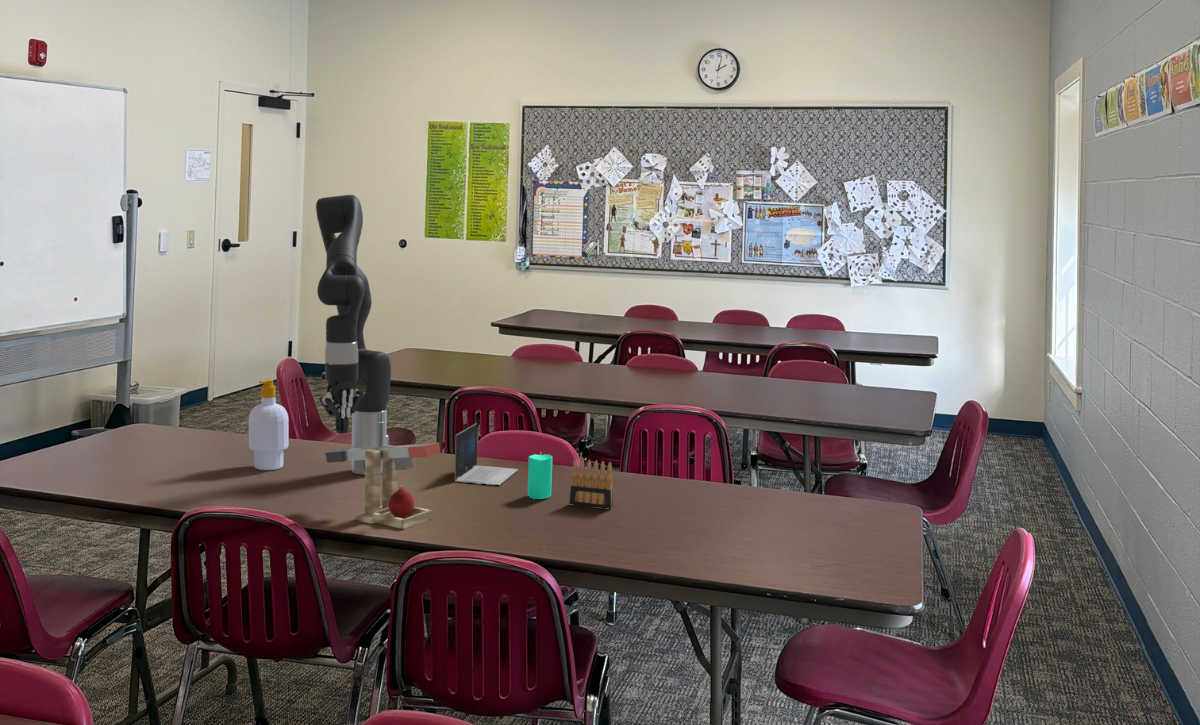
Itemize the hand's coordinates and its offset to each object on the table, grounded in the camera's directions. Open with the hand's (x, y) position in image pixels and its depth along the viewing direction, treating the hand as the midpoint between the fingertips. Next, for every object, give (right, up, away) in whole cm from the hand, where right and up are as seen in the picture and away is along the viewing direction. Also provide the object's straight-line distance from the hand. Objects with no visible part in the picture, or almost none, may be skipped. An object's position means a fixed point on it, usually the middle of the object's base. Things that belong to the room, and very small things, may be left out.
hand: (342, 432), depth 238 cm
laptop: (+30, -15, +36) cm, 50 cm away
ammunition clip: (+59, -19, +11) cm, 63 cm away
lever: (+11, -8, -5) cm, 15 cm away
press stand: (+14, -19, -5) cm, 24 cm away
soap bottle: (-29, -12, +37) cm, 49 cm away
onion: (+15, -20, -6) cm, 26 cm away
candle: (+45, -18, +18) cm, 52 cm away
